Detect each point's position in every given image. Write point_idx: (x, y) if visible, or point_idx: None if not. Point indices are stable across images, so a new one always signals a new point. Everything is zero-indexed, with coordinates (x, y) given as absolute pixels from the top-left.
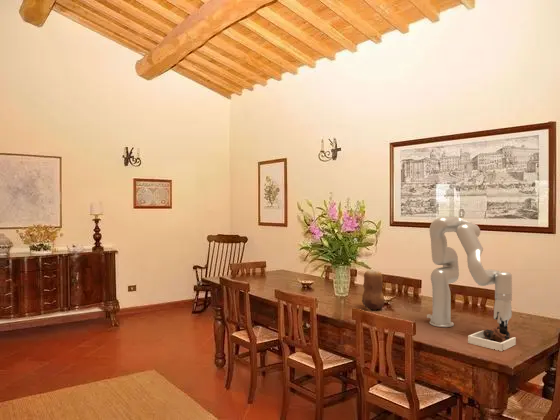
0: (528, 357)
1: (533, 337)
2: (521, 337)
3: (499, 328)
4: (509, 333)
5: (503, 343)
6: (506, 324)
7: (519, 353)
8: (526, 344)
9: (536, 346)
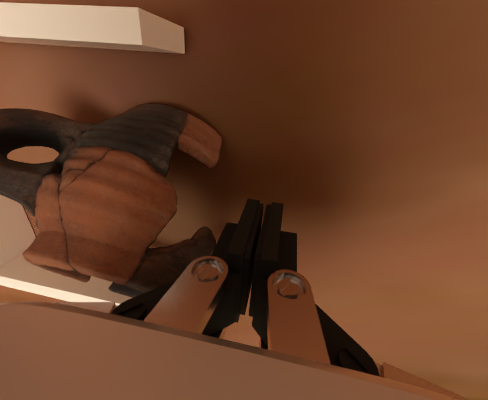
0: None
1: (465, 346)
2: (414, 291)
3: (132, 262)
4: None
5: (8, 284)
6: (260, 341)
7: None
8: (251, 322)
9: None
